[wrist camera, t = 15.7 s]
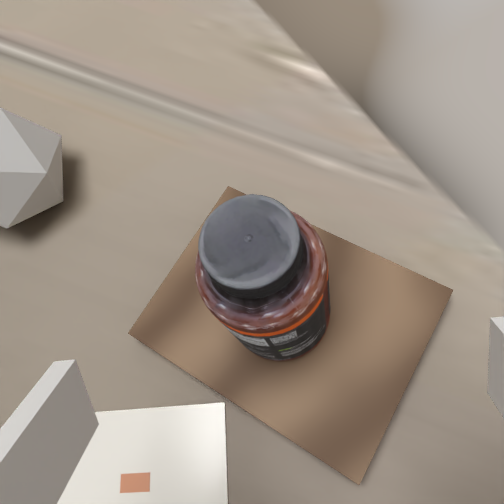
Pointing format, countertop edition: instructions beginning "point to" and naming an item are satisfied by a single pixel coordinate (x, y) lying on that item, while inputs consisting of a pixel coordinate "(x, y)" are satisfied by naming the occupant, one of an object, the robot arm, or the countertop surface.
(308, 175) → the countertop surface
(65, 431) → the robot arm
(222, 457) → the white tile
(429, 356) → the countertop surface
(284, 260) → the supplement bottle
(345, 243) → the walnut board
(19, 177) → the die
